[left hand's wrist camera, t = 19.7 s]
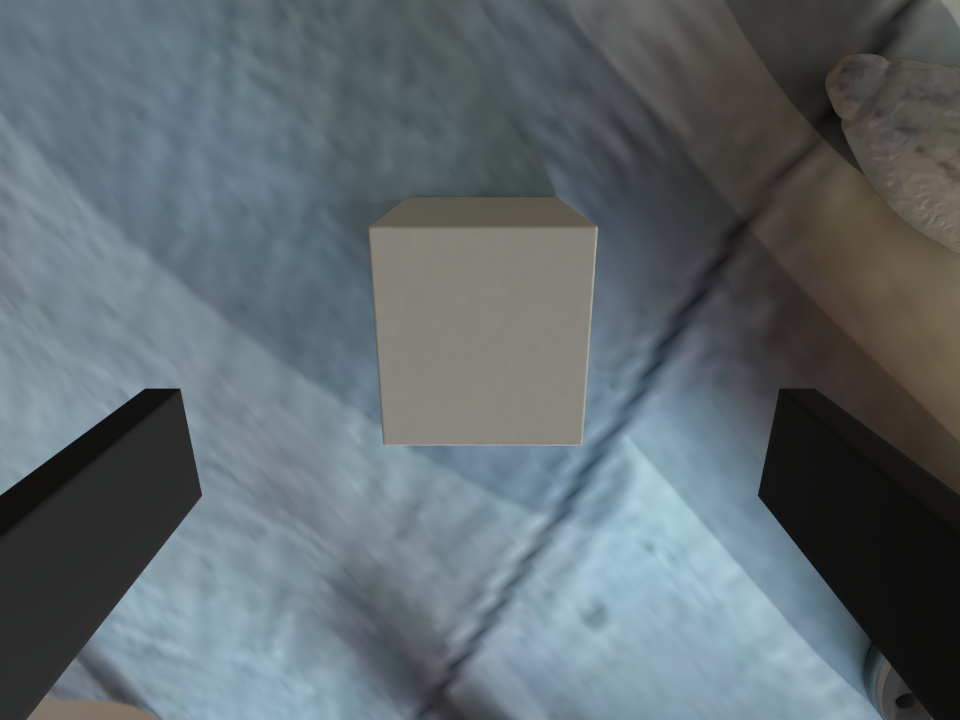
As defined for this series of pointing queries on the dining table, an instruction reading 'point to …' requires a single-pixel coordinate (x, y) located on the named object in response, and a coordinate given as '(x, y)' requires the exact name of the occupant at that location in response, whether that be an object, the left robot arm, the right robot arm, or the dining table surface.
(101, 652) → the dining table surface
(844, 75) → the decorative stone
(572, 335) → the block
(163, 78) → the dining table surface
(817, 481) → the left robot arm
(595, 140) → the dining table surface
